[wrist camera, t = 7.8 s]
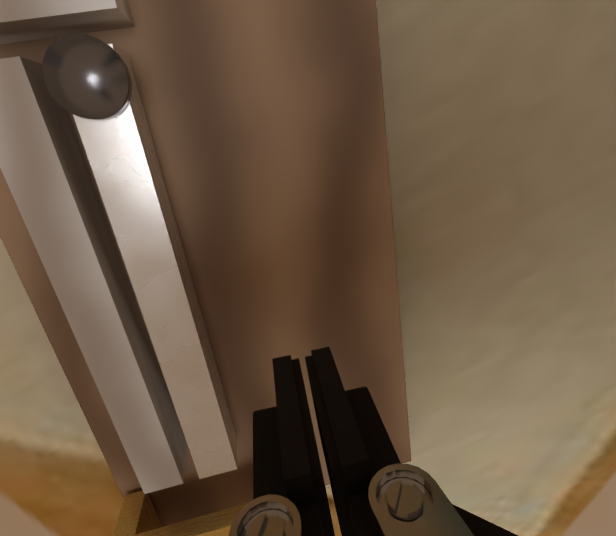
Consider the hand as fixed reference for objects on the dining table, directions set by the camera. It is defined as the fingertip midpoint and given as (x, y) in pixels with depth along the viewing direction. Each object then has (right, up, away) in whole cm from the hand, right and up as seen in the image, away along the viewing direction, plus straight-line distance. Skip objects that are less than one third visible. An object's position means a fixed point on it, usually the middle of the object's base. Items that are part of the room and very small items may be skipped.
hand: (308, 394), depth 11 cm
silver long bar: (-7, +3, +8) cm, 10 cm away
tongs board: (-4, +2, +10) cm, 11 cm away
